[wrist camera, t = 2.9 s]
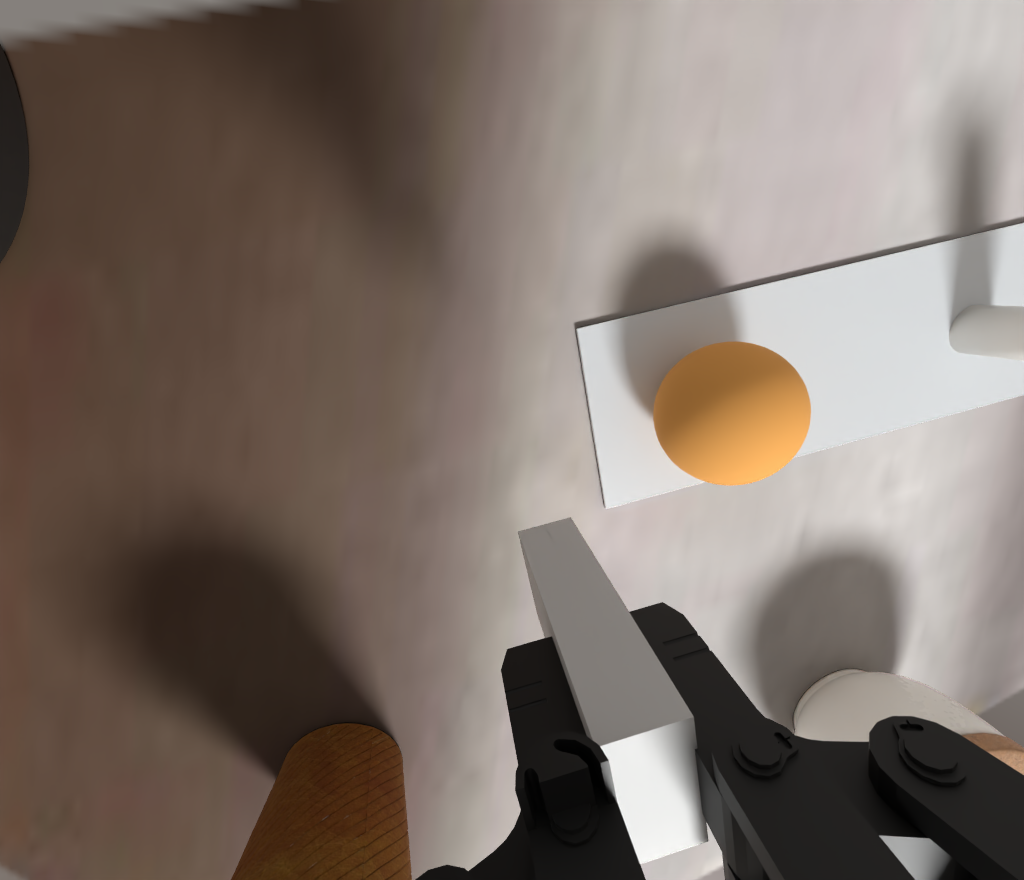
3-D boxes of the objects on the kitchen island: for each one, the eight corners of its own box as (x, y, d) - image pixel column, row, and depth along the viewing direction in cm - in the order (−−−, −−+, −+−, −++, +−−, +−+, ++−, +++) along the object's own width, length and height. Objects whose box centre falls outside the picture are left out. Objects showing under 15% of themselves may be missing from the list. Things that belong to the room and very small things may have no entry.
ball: (608, 428, 23) (668, 474, 17) (673, 311, 22) (760, 320, 16) (705, 475, 25) (788, 531, 19) (771, 369, 23) (880, 395, 18)
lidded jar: (778, 645, 29) (931, 802, 20) (927, 631, 31) (1128, 769, 22) (746, 778, 32) (866, 962, 23) (883, 758, 34) (1042, 922, 25)
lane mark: (604, 507, 24) (606, 509, 24) (575, 328, 21) (577, 328, 21) (1037, 389, 26) (1041, 390, 26) (1065, 212, 23) (1070, 212, 23)
